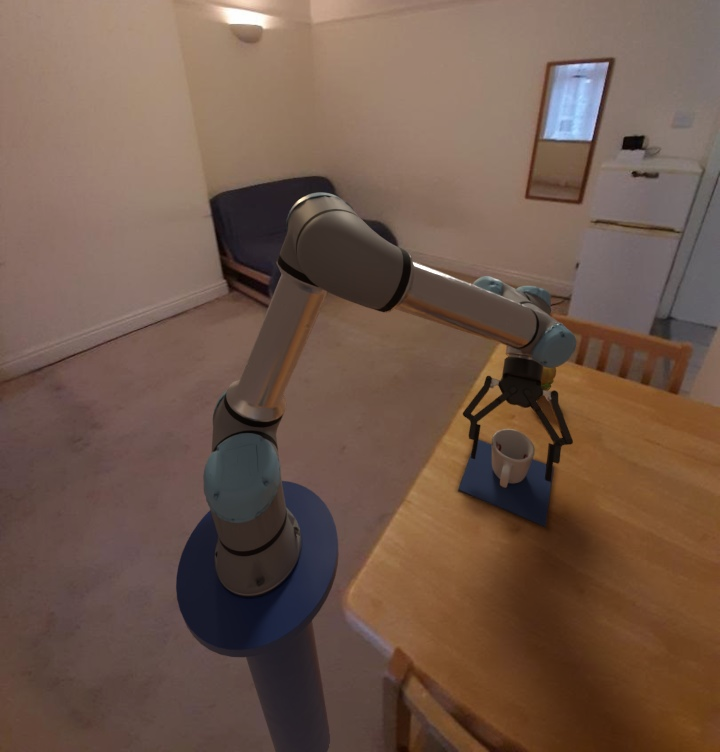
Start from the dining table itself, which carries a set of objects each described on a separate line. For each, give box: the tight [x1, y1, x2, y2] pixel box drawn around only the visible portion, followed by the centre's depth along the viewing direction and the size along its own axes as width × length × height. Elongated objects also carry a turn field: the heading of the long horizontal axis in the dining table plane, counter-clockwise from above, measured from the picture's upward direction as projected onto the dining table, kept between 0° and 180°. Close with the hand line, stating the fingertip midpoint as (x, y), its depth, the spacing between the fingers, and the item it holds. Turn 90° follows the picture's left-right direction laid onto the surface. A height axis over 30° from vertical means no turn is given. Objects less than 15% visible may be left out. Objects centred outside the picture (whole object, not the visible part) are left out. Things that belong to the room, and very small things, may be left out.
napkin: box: [457, 439, 554, 528], centre depth 82 cm, size 16×14×1 cm
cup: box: [491, 428, 536, 488], centre depth 80 cm, size 11×8×8 cm
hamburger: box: [541, 366, 557, 391], centre depth 101 cm, size 8×7×12 cm
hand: (509, 469), depth 77 cm, fingers open, 13 cm apart
